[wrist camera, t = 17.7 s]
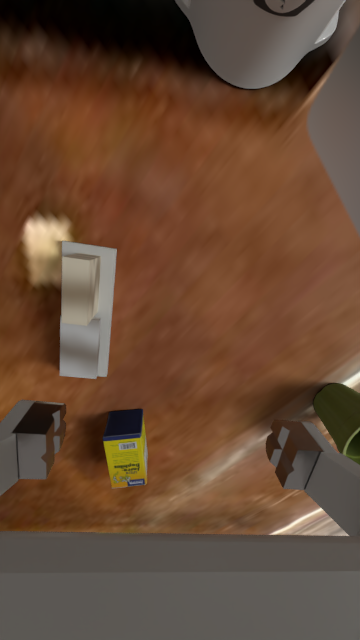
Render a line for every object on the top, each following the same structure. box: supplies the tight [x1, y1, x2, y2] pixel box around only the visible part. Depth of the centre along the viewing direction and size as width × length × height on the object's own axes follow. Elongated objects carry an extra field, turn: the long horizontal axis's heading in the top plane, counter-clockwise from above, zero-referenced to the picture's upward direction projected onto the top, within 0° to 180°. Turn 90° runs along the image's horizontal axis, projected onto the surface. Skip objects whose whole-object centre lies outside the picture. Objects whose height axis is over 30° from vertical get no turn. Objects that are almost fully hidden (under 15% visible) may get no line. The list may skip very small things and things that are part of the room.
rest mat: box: [61, 241, 117, 377], centre depth 37 cm, size 20×7×1 cm, turn 171°
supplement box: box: [103, 409, 148, 488], centre depth 43 cm, size 6×6×11 cm
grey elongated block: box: [60, 253, 101, 379], centre depth 34 cm, size 17×5×6 cm, turn 171°
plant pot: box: [313, 383, 360, 465], centre depth 41 cm, size 12×12×11 cm
